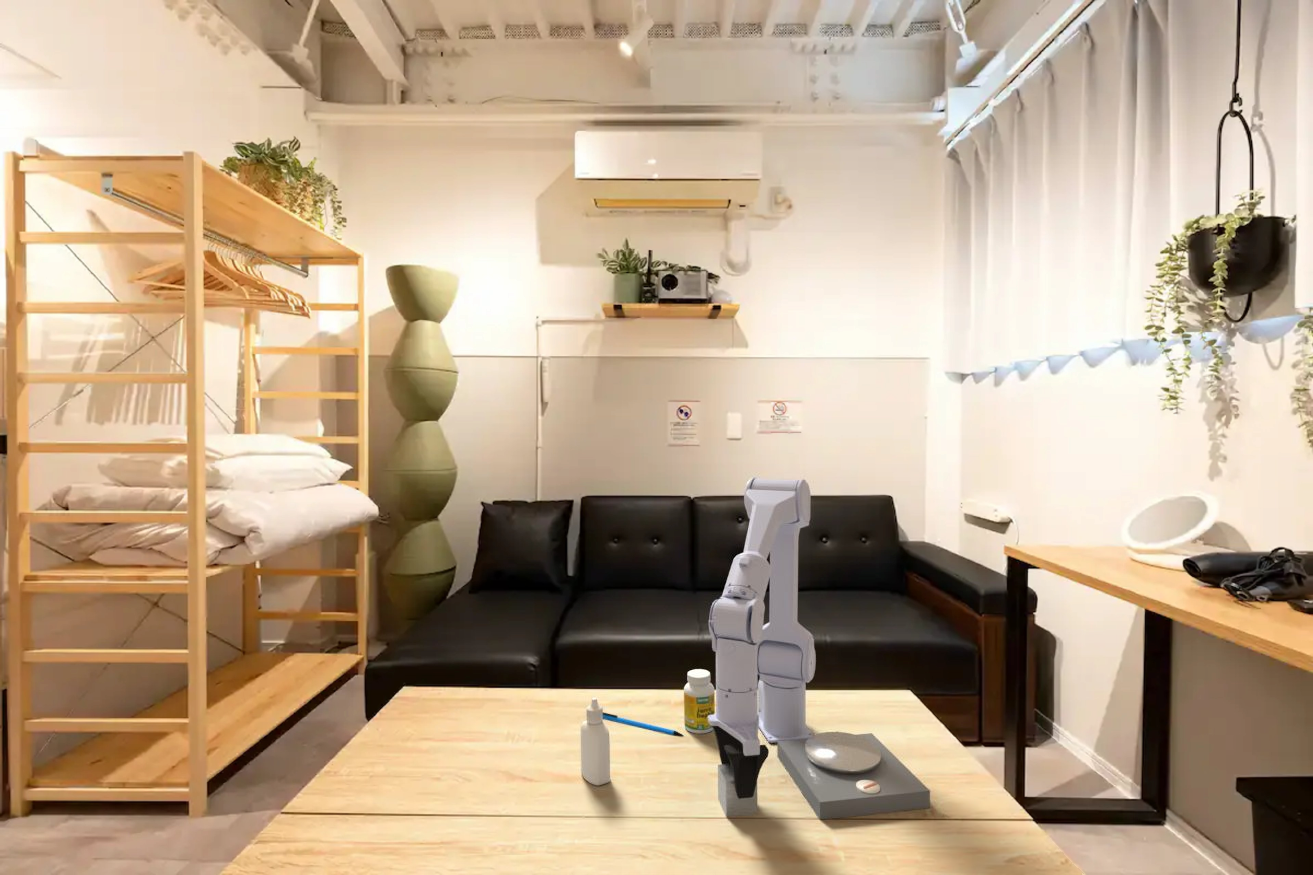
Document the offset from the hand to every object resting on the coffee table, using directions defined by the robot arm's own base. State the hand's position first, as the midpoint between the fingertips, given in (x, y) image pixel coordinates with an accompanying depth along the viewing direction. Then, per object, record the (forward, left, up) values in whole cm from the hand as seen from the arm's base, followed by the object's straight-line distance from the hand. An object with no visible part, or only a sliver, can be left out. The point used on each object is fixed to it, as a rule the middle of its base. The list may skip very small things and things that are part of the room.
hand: (737, 781), depth 93 cm
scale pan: (-5, +18, -1) cm, 19 cm away
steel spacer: (0, 0, -4) cm, 4 cm away
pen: (-27, -11, -4) cm, 30 cm away
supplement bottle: (-24, 0, -4) cm, 24 cm away
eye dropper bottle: (-11, -19, -4) cm, 22 cm away
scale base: (-4, +18, -4) cm, 19 cm away
